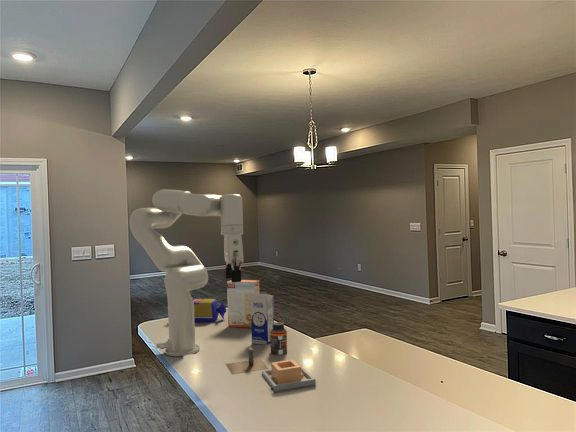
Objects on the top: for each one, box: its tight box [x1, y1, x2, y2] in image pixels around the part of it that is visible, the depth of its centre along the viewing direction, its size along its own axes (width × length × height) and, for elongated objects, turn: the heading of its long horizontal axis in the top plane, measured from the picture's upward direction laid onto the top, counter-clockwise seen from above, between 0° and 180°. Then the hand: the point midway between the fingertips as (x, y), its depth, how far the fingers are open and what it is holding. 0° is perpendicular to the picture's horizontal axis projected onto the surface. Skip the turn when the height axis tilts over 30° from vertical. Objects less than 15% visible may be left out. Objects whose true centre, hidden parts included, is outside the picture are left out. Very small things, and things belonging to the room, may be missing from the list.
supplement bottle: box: [269, 321, 288, 356], centre depth 148 cm, size 6×6×11 cm
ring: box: [270, 359, 304, 384], centre depth 124 cm, size 9×7×4 cm
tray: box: [261, 364, 317, 394], centre depth 124 cm, size 13×13×2 cm
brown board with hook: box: [225, 346, 270, 375], centre depth 135 cm, size 12×10×6 cm
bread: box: [192, 298, 227, 323], centre depth 203 cm, size 10×25×10 cm, turn 83°
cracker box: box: [226, 279, 261, 328], centre depth 190 cm, size 14×6×21 cm, turn 71°
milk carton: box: [250, 291, 275, 346], centre depth 164 cm, size 7×7×20 cm
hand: (233, 280), depth 142 cm, fingers open, 9 cm apart
